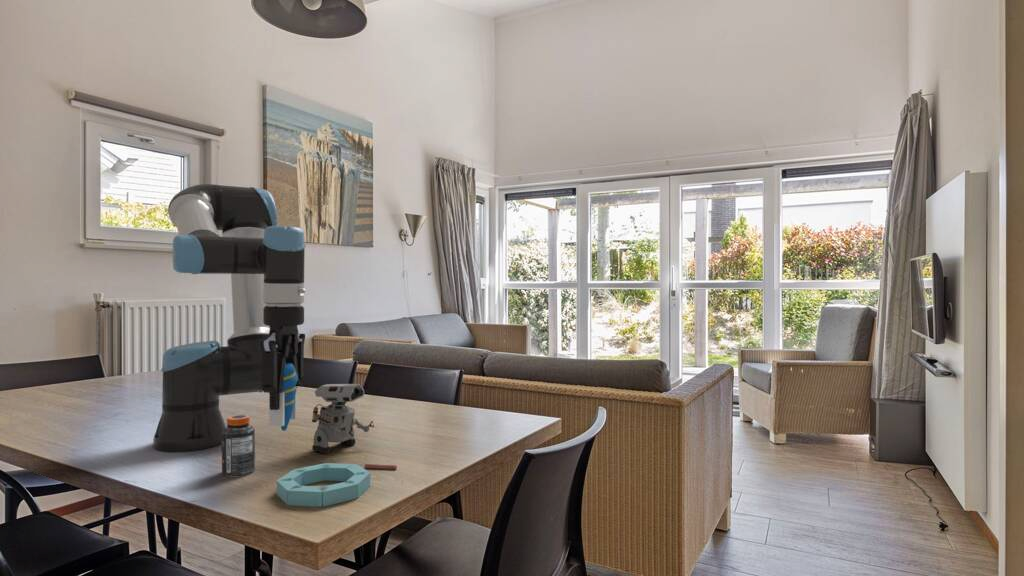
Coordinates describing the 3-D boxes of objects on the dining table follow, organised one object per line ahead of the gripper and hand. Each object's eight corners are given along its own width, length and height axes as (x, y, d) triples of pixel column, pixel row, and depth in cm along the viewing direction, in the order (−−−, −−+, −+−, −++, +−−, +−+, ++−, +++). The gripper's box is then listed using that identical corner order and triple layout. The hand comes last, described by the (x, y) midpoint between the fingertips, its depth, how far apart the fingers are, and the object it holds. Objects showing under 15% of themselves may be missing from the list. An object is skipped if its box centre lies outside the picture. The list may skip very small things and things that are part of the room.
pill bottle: (229, 468, 117) (229, 413, 117) (259, 467, 117) (259, 412, 117) (216, 478, 111) (216, 420, 111) (248, 477, 111) (248, 419, 111)
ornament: (280, 435, 111) (280, 358, 110) (263, 431, 114) (263, 356, 113) (302, 429, 115) (302, 355, 115) (286, 425, 118) (286, 352, 118)
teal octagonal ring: (263, 504, 98) (263, 489, 98) (304, 474, 113) (304, 462, 113) (347, 508, 97) (347, 493, 97) (378, 478, 111) (378, 465, 111)
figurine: (343, 459, 124) (343, 389, 123) (307, 450, 129) (307, 384, 129) (374, 448, 131) (374, 383, 131) (338, 441, 137) (338, 378, 137)
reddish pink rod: (363, 468, 117) (363, 464, 117) (365, 467, 118) (365, 463, 118) (396, 469, 116) (396, 465, 116) (397, 468, 117) (397, 464, 117)
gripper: (279, 308, 105) (278, 435, 105) (321, 303, 122) (321, 412, 123) (240, 307, 106) (240, 433, 106) (288, 302, 123) (287, 410, 124)
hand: (283, 421), depth 115 cm, fingers closed on ornament, 4 cm apart
